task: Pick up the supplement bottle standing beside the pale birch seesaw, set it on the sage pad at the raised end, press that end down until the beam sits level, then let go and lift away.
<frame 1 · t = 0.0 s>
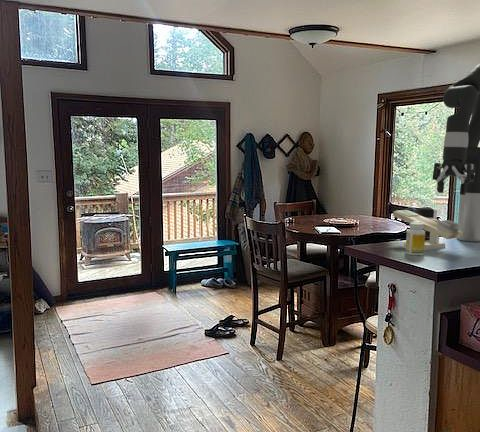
hand: (451, 193, 166), 17 cm above the table, tool pointing down, fingers open, 8 cm apart
beam: (426, 220, 158), point 9 cm above the table, hinge at -12.0°
stand: (424, 247, 159), on the table
supplement bottle: (414, 254, 149), on the table
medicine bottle: (425, 241, 172), on the table
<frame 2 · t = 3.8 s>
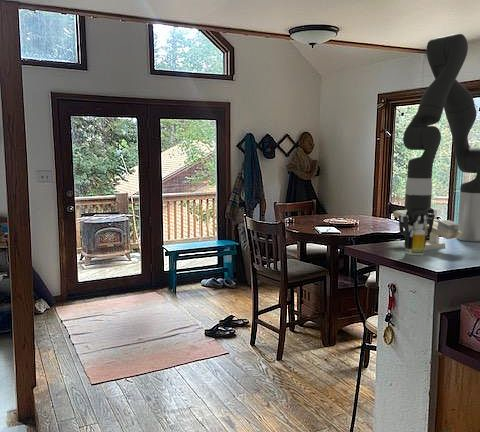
hand: (414, 247, 149), 2 cm above the table, tool pointing down, fingers closed on supplement bottle, 5 cm apart
supplement bottle: (414, 254, 149), on the table, touching gripper
everything else where it was.
when the fingers open (11 cm above the table, at t = 8.6 s): supplement bottle stays where it is, resting on beam.
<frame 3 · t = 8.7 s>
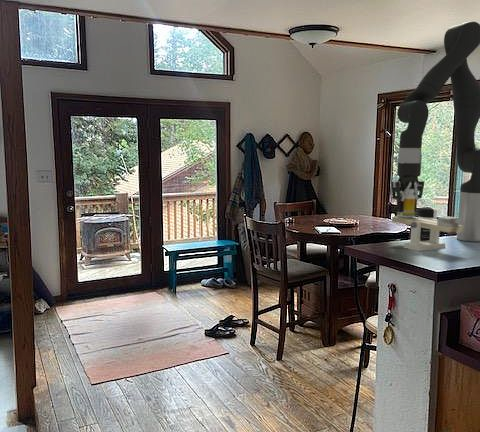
hand: (406, 211, 165), 11 cm above the table, tool pointing down, fingers open, 5 cm apart
beam: (426, 220, 158), point 9 cm above the table, hinge at -1.3°, touching supplement bottle
supplement bottle: (405, 217, 165), point 9 cm above the table, touching beam
everything else where it was.
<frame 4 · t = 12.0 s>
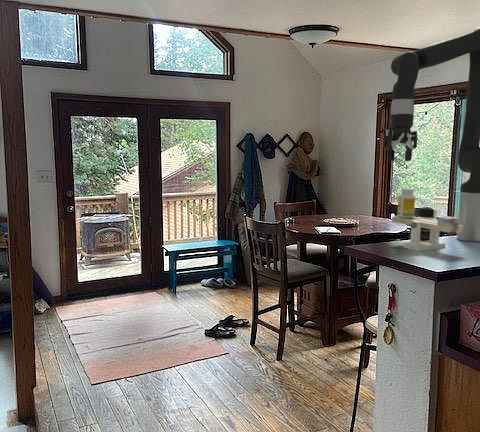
hand: (399, 160, 168), 28 cm above the table, tool pointing down, fingers open, 8 cm apart
nothing on the table moved.
at the end: beam at -1° (first picture: -12°); supplement bottle 0.5 cm from the target spot on the beam, point 1.1 cm above the beam's base; supplement bottle tilted 1° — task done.
